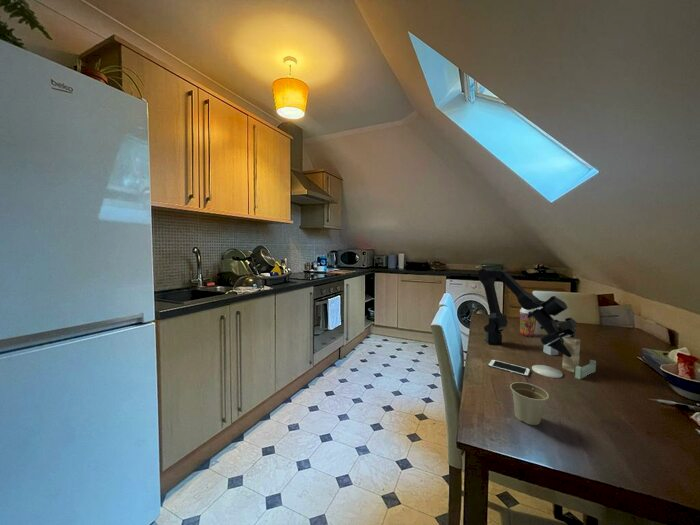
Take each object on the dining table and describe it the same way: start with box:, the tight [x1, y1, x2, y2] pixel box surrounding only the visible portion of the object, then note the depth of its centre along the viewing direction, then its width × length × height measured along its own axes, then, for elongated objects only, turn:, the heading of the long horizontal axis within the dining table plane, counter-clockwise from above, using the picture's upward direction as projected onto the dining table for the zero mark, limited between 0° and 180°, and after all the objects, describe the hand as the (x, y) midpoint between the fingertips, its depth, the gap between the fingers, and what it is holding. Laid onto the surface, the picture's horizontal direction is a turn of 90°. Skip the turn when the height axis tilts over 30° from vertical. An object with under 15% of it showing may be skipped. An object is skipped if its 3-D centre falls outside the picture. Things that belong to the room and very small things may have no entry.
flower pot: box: [509, 381, 550, 426], centre depth 78 cm, size 9×9×9 cm
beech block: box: [561, 336, 581, 373], centre depth 109 cm, size 4×4×13 cm
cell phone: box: [487, 358, 532, 378], centre depth 110 cm, size 8×15×1 cm, turn 50°
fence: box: [574, 359, 597, 380], centre depth 105 cm, size 2×14×4 cm, turn 118°
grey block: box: [543, 343, 559, 356], centre depth 126 cm, size 4×4×5 cm
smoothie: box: [519, 307, 537, 338], centre depth 151 cm, size 8×8×20 cm
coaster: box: [531, 364, 564, 379], centre depth 107 cm, size 10×10×1 cm
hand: (575, 354), depth 108 cm, fingers open, 8 cm apart
